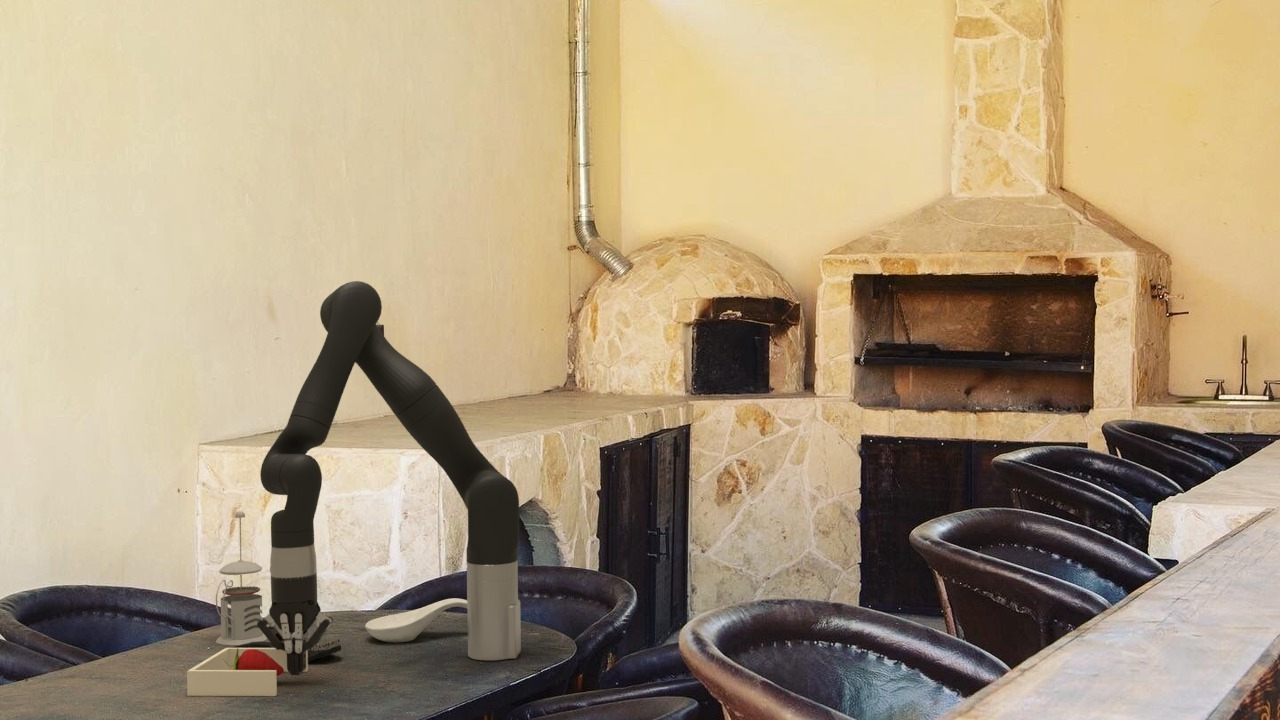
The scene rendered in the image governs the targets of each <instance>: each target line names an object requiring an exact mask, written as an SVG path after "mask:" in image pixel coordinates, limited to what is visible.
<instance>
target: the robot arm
mask: <svg viewBox="0 0 1280 720" xmlns="http://www.w3.org/2000/svg"><path fill="white" fill-rule="evenodd" d="M382 308H383V305H382V300H381V297H380V295H379V293H378V291H377V290H376V289H375V288H374V287H373V286H372V285H370V284H368V282H364V281H360V280H356V281H353V280H352V281H349V282H346V283H344V284H342V285H340V286H339V287H337V288H336V289H335V290H333V292H332V293H330V294H328V295H327V297H326V298H325V299H324V300H323V302H322V304H321V306H320V311H319V312H320V313H319V315H320V320H321V323H322V326H323V328H324V330H325V331H326V333H327V335H326V337H325V340H324V343H323V345H322V347H321V350H320V352H319V354H318V356H317V358H316V361H315V362H314V364H313V366H312V368H311V370H310V371H309V373H308V375H307V377H306V379H305V381H304V382H303V384H302V386H301V388H300V390H299V393H298V394H297V397H296V400H295V402H294V405H293V406H292V407H293V408H292V410H291V412H290V416H289V418H288V421H287V424H286V426H285V427H284V429H283V430H282V432H281V433H280V434H279V435H278V437H277V438H276V439H275V441H274V443H273V444H272V446H271V447H270V449H269V450H268V452H267V453H266V455H265V456H264V459H263V461H262V463H261V468H260V474H259V475H260V481H261V484H262V486H263V488H264V489H265V490H266V491H267V492H268V493H269V494H272V495H276V496H286V502H285V506H284V509H281V510H277V511H276V512H273V514H272V516H271V519H270V544H271V550H270V560H269V561H270V565H269V573H270V592H271V593H270V594H271V598H270V599H271V605H270V608H269V609H268V614H267V615H265V616H264V617H262V619H260V621H259V622H258V623H257V626H258V627H259V629H260V630H261V631H262V632H263V634H264V635H265V636H266V637H267V639H266V640H268V642H271V644H272V645H273V646H274V647H275V648H276V649H277V650H283V651H285V652H286V654H287V670H288V672H287V673H290V676H301V675H302V674H303V673H304V672H303V671H304V670H305V669H306V650H310V649H311V648H312V649H313V648H314V647H316V646H317V645H318V643H319V642H320V640H321V639H322V638H323V636H324V635H325V634H326V633H327V631H328V629H329V628H330V627H331V625H332V624H333V622H334V619H333V617H332V616H329V617H328V616H326V615H325V614H323V612H321V607H320V604H319V602H318V576H317V575H318V572H317V571H318V569H317V554H316V547H315V546H316V545H315V526H314V520H315V519H314V518H315V515H316V512H317V507H318V505H319V504H318V503H319V498H320V495H321V490H322V484H323V483H322V482H323V474H322V469H321V466H320V465H319V463H318V461H317V459H316V458H315V457H313V456H311V455H308V454H307V453H308V452H309V451H310V450H312V449H314V448H317V447H320V446H322V445H323V444H324V443H325V442H326V440H327V438H328V436H329V432H330V430H331V427H332V425H333V422H334V419H335V416H336V413H337V411H338V407H339V406H340V403H341V399H342V396H343V394H344V391H345V388H346V385H347V383H348V381H349V378H350V376H351V372H352V371H353V368H354V366H355V364H356V365H357V366H358V367H359V369H360V370H361V371H362V372H363V373H364V375H365V376H366V378H367V379H368V381H369V382H370V383H371V384H372V385H373V388H374V389H375V390H376V391H377V393H378V394H379V395H380V396H381V397H382V399H383V401H384V402H385V403H386V404H387V406H388V407H389V409H390V411H392V413H393V414H394V415H395V416H396V418H397V419H398V421H399V422H400V423H401V424H402V426H403V427H404V429H405V430H406V431H407V432H408V434H409V435H410V436H411V437H412V438H413V439H414V441H416V442H417V444H418V445H419V446H420V447H421V448H422V449H423V450H424V451H425V452H426V453H427V454H428V455H429V456H430V457H431V458H432V459H433V460H434V461H435V462H436V463H437V464H438V466H440V467H441V469H442V470H443V471H444V473H445V474H446V476H448V479H449V480H450V481H451V483H452V484H453V486H454V488H455V489H456V491H457V493H458V495H459V496H460V498H461V500H462V502H463V503H464V505H465V507H466V509H467V544H466V546H467V547H466V596H467V597H466V600H467V608H466V609H467V611H466V612H467V615H466V616H467V656H468V657H469V658H470V659H473V660H477V661H478V660H479V661H501V660H502V661H503V660H508V659H517V657H518V655H519V654H520V653H521V652H522V637H521V636H522V634H521V633H522V631H521V629H522V628H521V626H522V625H521V621H522V620H521V600H520V599H519V589H518V587H519V585H518V584H519V580H518V579H519V577H518V573H519V572H518V571H519V569H518V567H519V565H518V552H519V551H518V550H519V544H520V499H519V491H518V490H517V488H516V485H515V484H514V483H513V482H512V481H511V480H510V479H509V478H508V477H506V476H504V475H503V474H502V473H500V472H499V470H498V469H497V468H496V467H495V466H493V464H492V463H491V462H490V461H489V460H488V459H487V458H486V457H485V456H484V454H483V453H482V452H481V451H480V449H478V447H477V445H476V444H475V443H474V442H473V440H472V439H471V437H470V435H469V433H468V431H467V429H466V427H465V426H464V423H463V421H462V419H461V417H460V416H459V414H458V413H457V411H456V409H455V407H453V405H452V402H450V401H449V399H448V397H447V396H446V395H445V394H444V392H443V390H441V388H440V387H439V385H438V384H437V383H436V381H435V380H433V378H432V377H431V376H430V375H429V374H428V373H427V372H426V371H424V370H423V368H421V367H419V366H418V365H417V364H415V363H414V362H413V361H411V360H410V359H408V358H407V357H405V356H404V355H403V354H401V353H400V352H399V351H398V350H396V349H395V347H394V346H393V345H392V344H391V343H390V342H389V340H387V338H386V337H385V335H384V334H383V332H382V331H381V330H380V328H379V327H378V325H377V323H378V321H379V320H380V317H381V315H382ZM315 621H316V623H315ZM314 623H315V627H317V628H316V630H315V631H314V632H313V634H312V635H311V637H310V638H309V639H308V636H309V629H310V628H312V626H313V625H314ZM275 625H277V627H278V628H279V630H280V631H281V633H280V631H279V630H278V629H277V628H276V627H275ZM312 649H311V650H312Z"/></svg>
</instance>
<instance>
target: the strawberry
mask: <svg viewBox="0 0 1280 720" xmlns="http://www.w3.org/2000/svg"><path fill="white" fill-rule="evenodd" d="M239 656H240V655H239ZM239 656H238V648H237V652H236V657H235V662H234V665H232V666H234V668H233V670H276V671H277V677H279V676H281V675H282V674H283V673H285V672H284V669H283V667H282V666H280V665H279V664H278V663H277V662H276V661H274V660H273V659H272V658H271V657H270V656H268V655H267V654H266V653H264V652H262V651H259V650H256V649H247V650H246V651H244V652H243V653H242V655H241V656H240V657H239ZM223 660H224V659H223ZM224 661H225V660H224ZM227 665H228V664H227ZM228 666H229V665H228Z"/></svg>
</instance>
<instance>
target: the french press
mask: <svg viewBox="0 0 1280 720" xmlns="http://www.w3.org/2000/svg"><path fill="white" fill-rule="evenodd" d="M234 518H236V519H239V557H240V558H239V559H240V560H237V561H234V562H230V563H228V564H225V565H224V566H222V567H221V568H220V569H219V570H218V572H219V573H220V574H221V575H225V576H238V575H240V586H234V581H233V579H230V580H229V581H228V582H226V579H222V580H221V582H220V583H219V585H218V586H217V590H216V594H215V608H216V610H217V613H218V615H219V616H220V632H221V633H220V636H219V637H217V639H216V641H215V643H216V644H218V645H222V646H223V645H224V646H238V645H242V644H246V643H250V642H259V641H263V642H266V641H267V640H268V639H267V637H266V636H265V635H264V634H263V632H262V631H261V630H260V629H259V627H258V626H257V623H258V622H259V621H260V620H261V619H263V617H262V615H263V610H262V609H261V608H263V595H260V594H258V593H259V592H260V591H261V588H260V587H259V586H254V585H253V586H251V585H250V586H249V585H246V586H244V585H243V582H242V581H243V577H242V575H247V574H255V573H259V572H261V571H262V570H263V567H262V566H261V565H260V564H258V563H256V562H253V561H245V560H243V559H242V518H246V513H245V512H244V511H237V512H235V515H234ZM223 583H224V586H225V588H224V589H223V590H222V591H221V592H222V594H223V596H222V597H221V598H220V610H219V607H218V593H219V590H220V587H221V586H222V584H223ZM230 583H231V585H229V584H230ZM256 593H257V594H256ZM229 605H230V607H229ZM228 612H230V613H228ZM261 614H262V615H261ZM228 618H229V619H230V620H229V619H228ZM229 625H230V626H231V627H230V626H229Z"/></svg>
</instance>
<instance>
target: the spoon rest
mask: <svg viewBox="0 0 1280 720" xmlns="http://www.w3.org/2000/svg"><path fill="white" fill-rule="evenodd" d="M454 607H459V608H463V609H467V599H463V598H458V597H457V598H455V597H454V598H453V597H452V598H445V599H443V600H440V601H436V602H433V603H431V604H428V605H426V606H423V607H421V608H417V609H413V610H410V611H406V612H400V613H399V612H398V613H396V614H395V613H394V614H389V615H385V616H381V617H377V618H374V619H371V620H369V621H367V622H366V623H365V626H364V628H365V629H366V631H367V632H368V633H369V634H370V635H371V636H372V637H373V638H375V639H376V640H378V641H382V642H385V643H403V642H410V641H413V640H415V639H416V638H417V637H418V635H420V634H421V633H422V632H423V631H424V630H425V629H426V628H427V627H428V625H429V624H431V622H432V621H433V620H434V619H435V618H437V616H439V615H440V614H441V613H442V612H444V611H446V610H448V609H450V608H454Z"/></svg>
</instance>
